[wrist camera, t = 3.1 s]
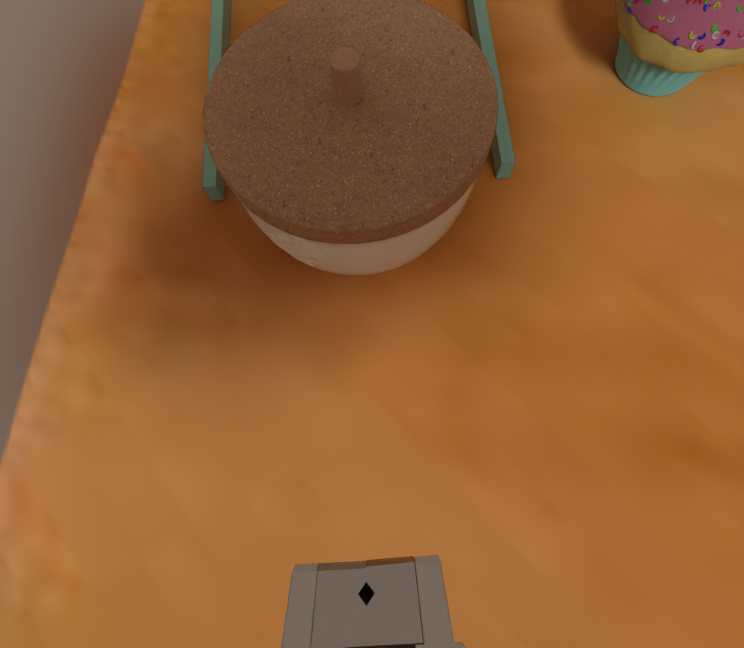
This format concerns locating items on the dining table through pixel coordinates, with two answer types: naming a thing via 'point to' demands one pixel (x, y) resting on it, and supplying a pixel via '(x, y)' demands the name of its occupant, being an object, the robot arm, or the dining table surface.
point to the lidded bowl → (352, 128)
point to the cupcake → (676, 41)
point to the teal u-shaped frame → (480, 34)
